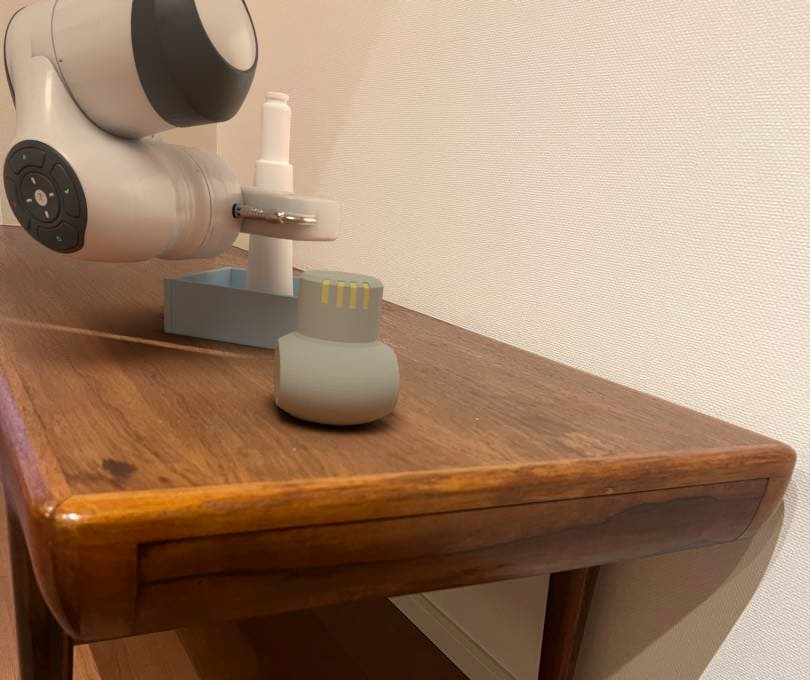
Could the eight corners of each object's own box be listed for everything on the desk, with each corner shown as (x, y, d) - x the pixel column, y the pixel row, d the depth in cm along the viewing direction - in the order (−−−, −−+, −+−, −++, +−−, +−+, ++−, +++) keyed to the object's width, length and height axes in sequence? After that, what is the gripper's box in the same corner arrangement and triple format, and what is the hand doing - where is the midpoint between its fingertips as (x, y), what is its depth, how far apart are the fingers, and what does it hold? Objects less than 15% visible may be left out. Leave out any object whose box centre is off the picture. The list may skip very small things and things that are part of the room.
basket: (164, 337, 76) (163, 278, 74) (226, 317, 90) (227, 266, 88) (317, 361, 74) (321, 301, 72) (356, 337, 88) (361, 285, 86)
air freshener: (399, 441, 54) (417, 293, 50) (279, 436, 52) (287, 280, 48) (373, 399, 64) (386, 272, 60) (271, 393, 62) (277, 261, 58)
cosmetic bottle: (251, 337, 78) (259, 86, 69) (229, 325, 83) (234, 88, 74) (306, 337, 81) (320, 98, 72) (282, 326, 86) (292, 99, 77)
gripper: (297, 177, 61) (373, 186, 73) (95, 150, 68) (194, 162, 80) (292, 261, 64) (367, 256, 76) (98, 228, 71) (194, 228, 82)
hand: (277, 208), depth 78 cm, fingers open, 8 cm apart
